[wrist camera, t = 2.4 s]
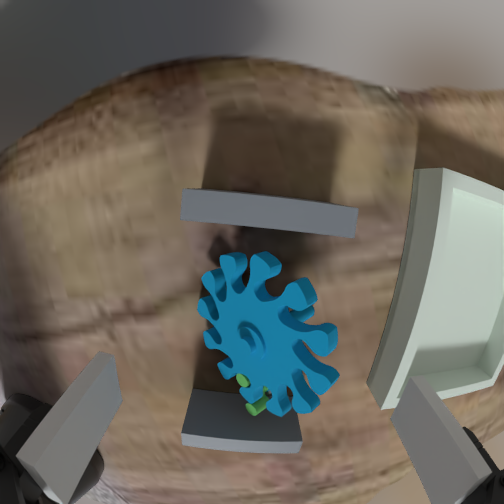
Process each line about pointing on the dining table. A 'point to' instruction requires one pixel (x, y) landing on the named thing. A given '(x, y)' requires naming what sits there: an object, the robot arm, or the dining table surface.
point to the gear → (267, 335)
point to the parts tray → (446, 291)
